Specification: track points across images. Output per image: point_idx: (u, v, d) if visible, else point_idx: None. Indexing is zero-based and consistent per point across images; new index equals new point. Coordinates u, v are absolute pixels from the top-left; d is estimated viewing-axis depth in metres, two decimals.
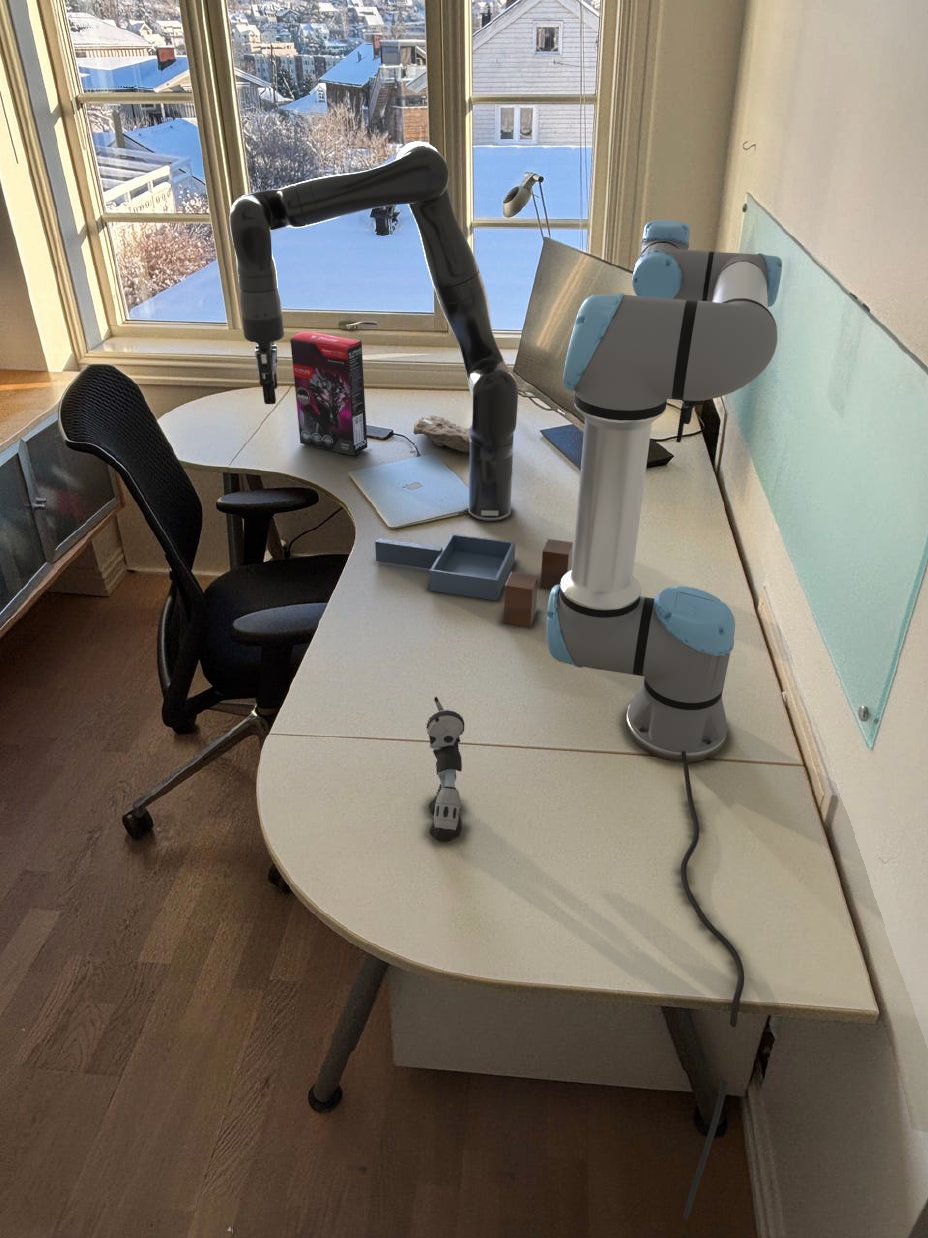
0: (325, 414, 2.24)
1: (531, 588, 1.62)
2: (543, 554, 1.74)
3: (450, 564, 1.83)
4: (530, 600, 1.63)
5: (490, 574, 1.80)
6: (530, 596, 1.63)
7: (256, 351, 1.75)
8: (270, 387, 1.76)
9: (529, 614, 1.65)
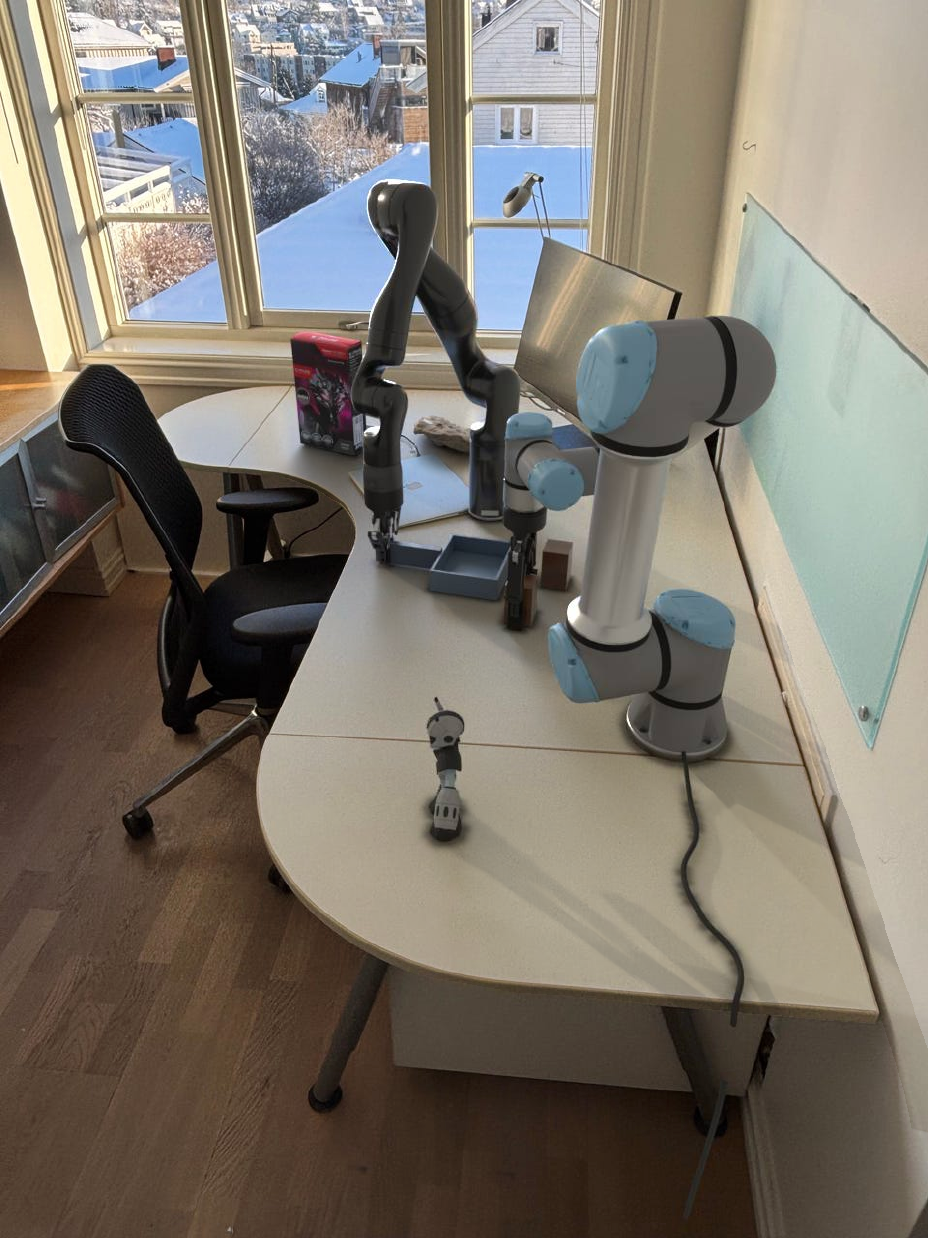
0: (325, 414, 2.24)
1: (531, 588, 1.62)
2: (543, 554, 1.74)
3: (450, 564, 1.83)
4: (530, 600, 1.63)
5: (490, 573, 1.80)
6: (530, 596, 1.63)
7: (373, 518, 1.78)
8: (384, 550, 1.81)
9: (529, 614, 1.65)
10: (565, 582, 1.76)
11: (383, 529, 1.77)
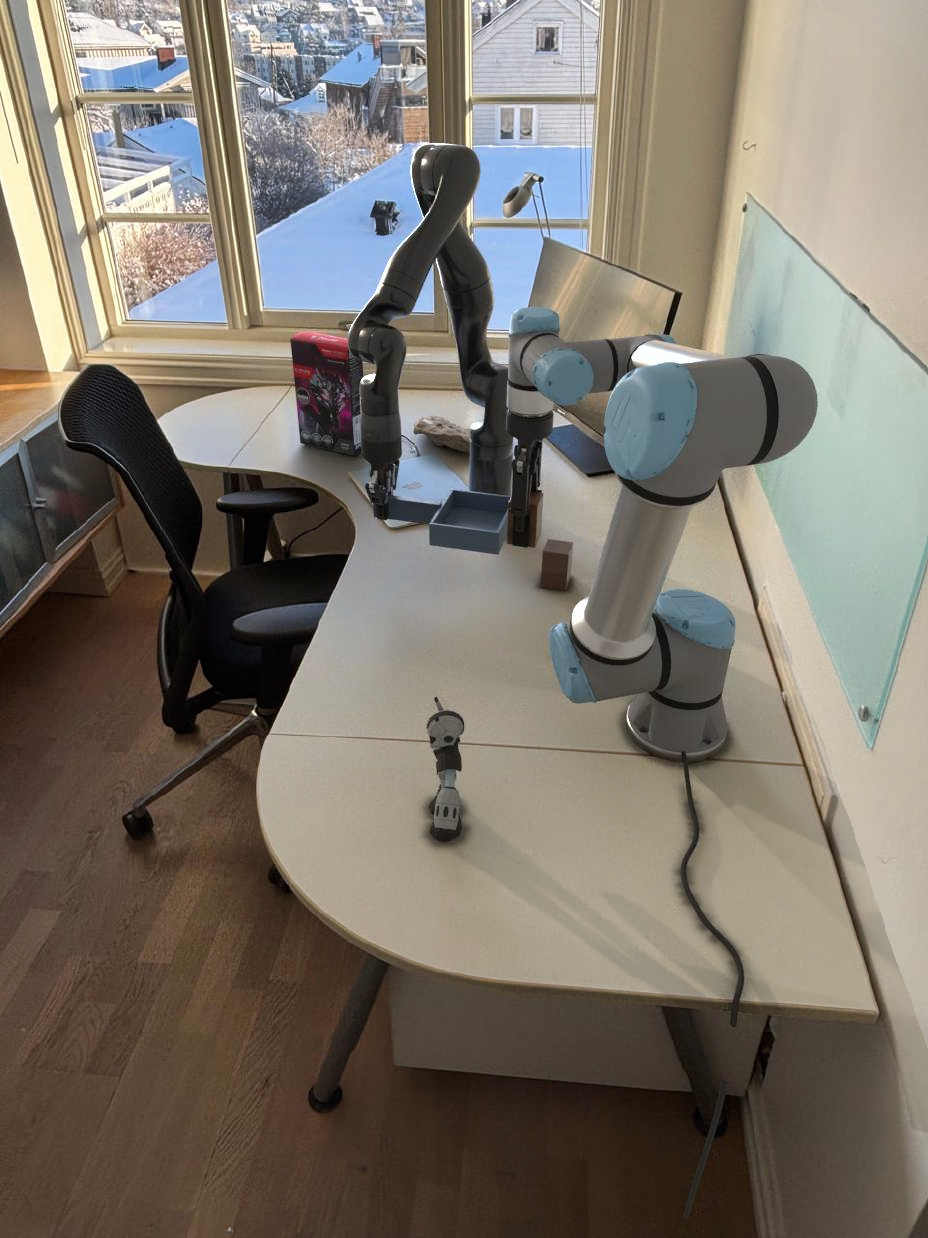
0: (325, 414, 2.24)
1: (536, 504, 1.53)
2: (543, 554, 1.74)
3: (450, 519, 1.77)
4: (535, 518, 1.54)
5: (492, 528, 1.74)
6: (535, 513, 1.54)
7: None
8: (382, 505, 1.75)
9: (534, 533, 1.56)
10: (565, 582, 1.76)
11: (381, 482, 1.72)
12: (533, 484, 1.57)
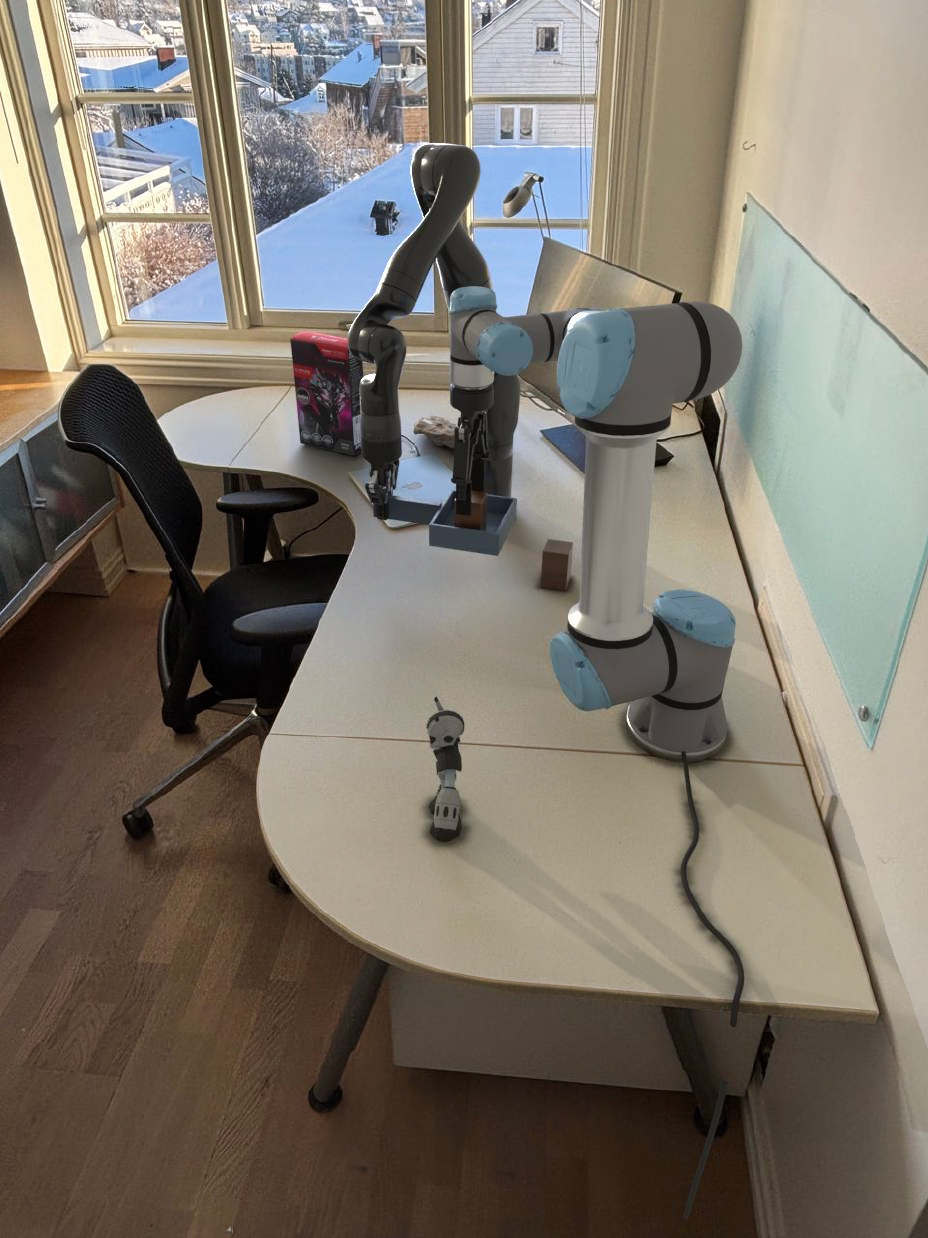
0: (325, 414, 2.24)
1: (480, 503, 1.66)
2: (543, 554, 1.74)
3: (450, 520, 1.77)
4: (479, 515, 1.67)
5: (491, 529, 1.75)
6: (479, 511, 1.67)
7: None
8: (382, 505, 1.75)
9: (478, 529, 1.69)
10: (565, 582, 1.76)
11: (381, 482, 1.72)
12: (480, 449, 1.67)
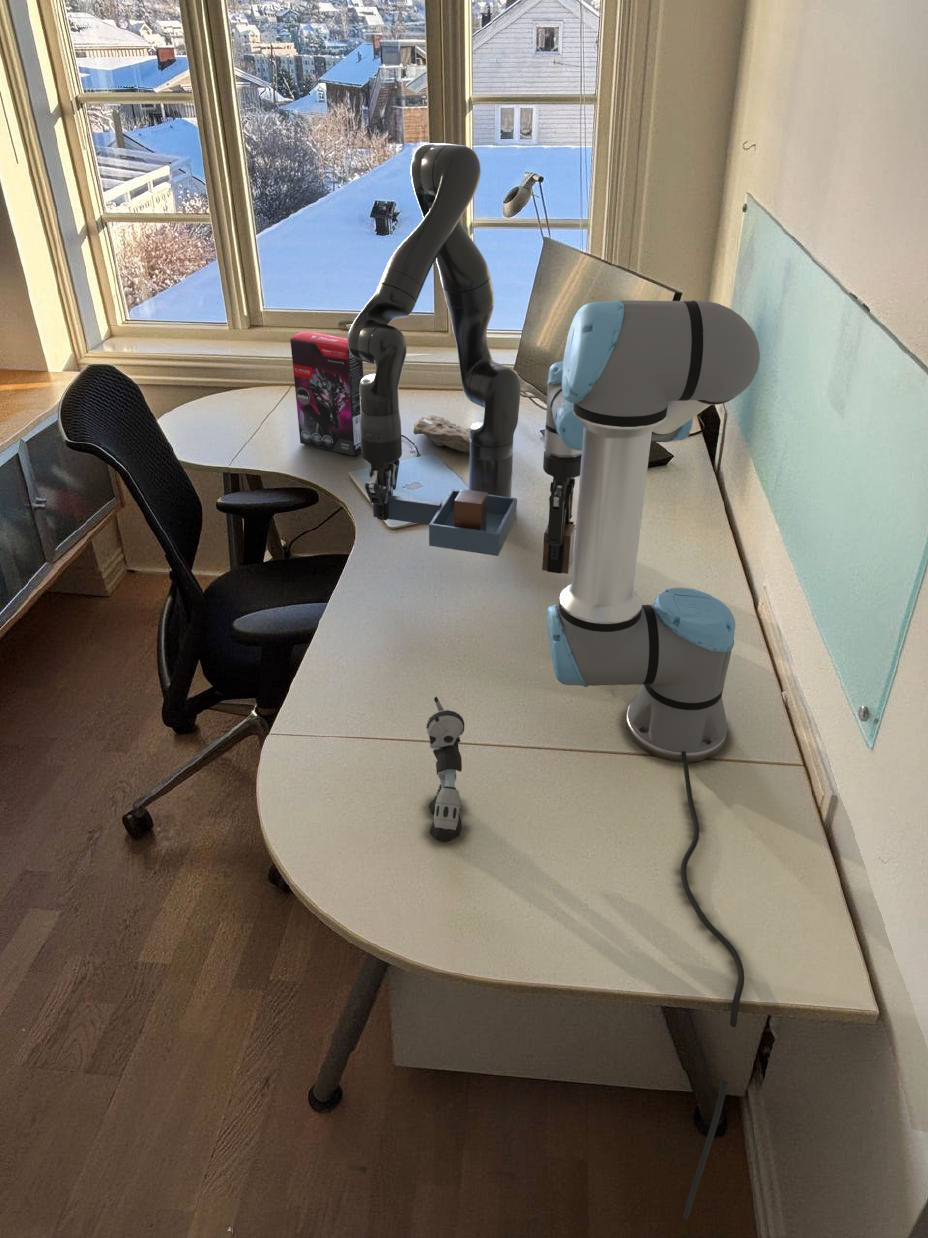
0: (325, 414, 2.24)
1: (480, 503, 1.66)
2: (545, 536, 1.71)
3: (450, 520, 1.77)
4: (479, 515, 1.67)
5: (491, 529, 1.75)
6: (479, 511, 1.67)
7: None
8: (382, 505, 1.75)
9: (478, 529, 1.69)
10: (567, 565, 1.73)
11: (381, 482, 1.72)
12: (566, 516, 1.74)
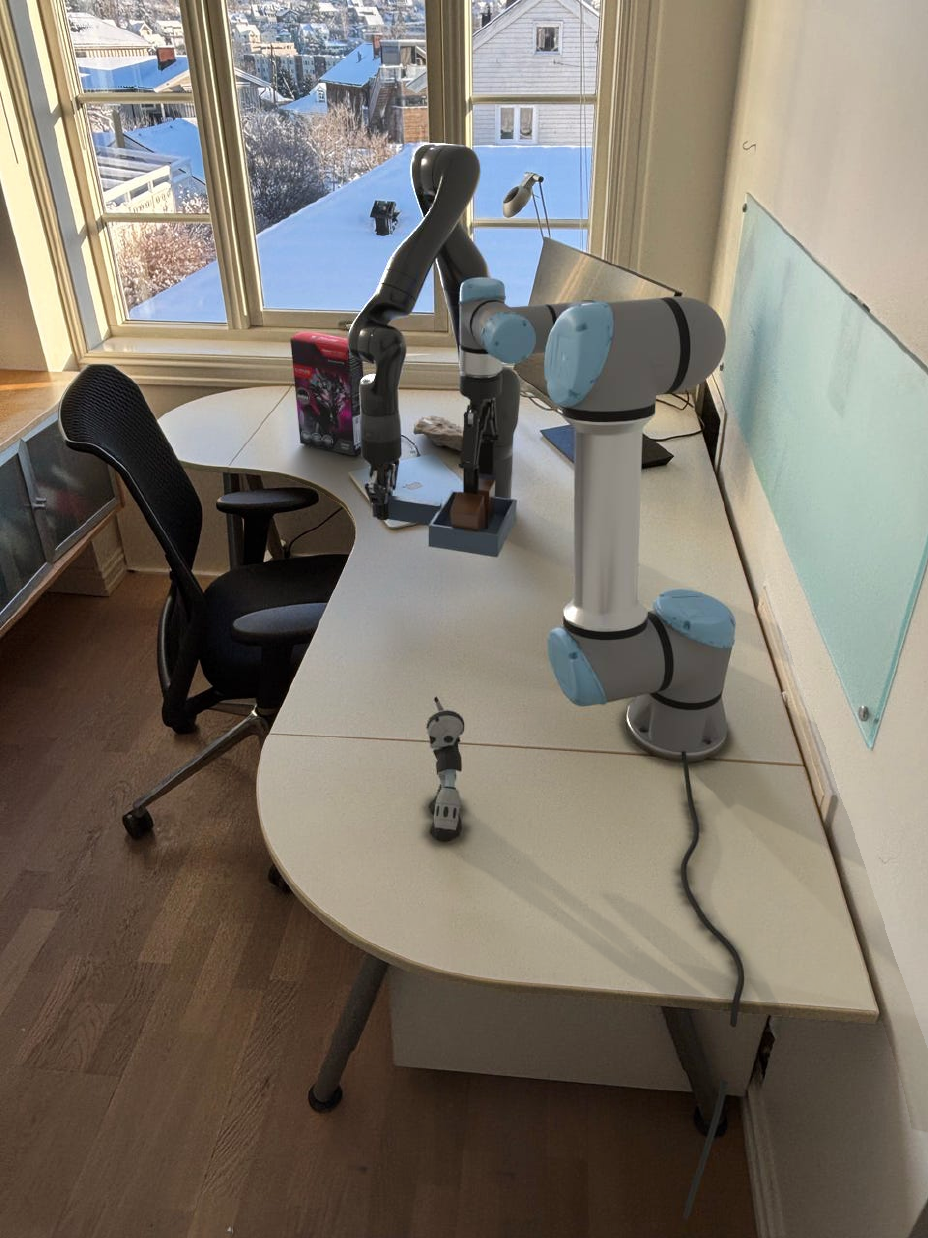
0: (325, 414, 2.24)
1: (475, 513, 1.64)
2: None
3: (449, 521, 1.77)
4: (476, 523, 1.66)
5: (491, 531, 1.75)
6: (475, 520, 1.65)
7: None
8: (382, 505, 1.75)
9: None
10: (487, 520, 1.74)
11: (380, 482, 1.72)
12: (489, 433, 1.73)
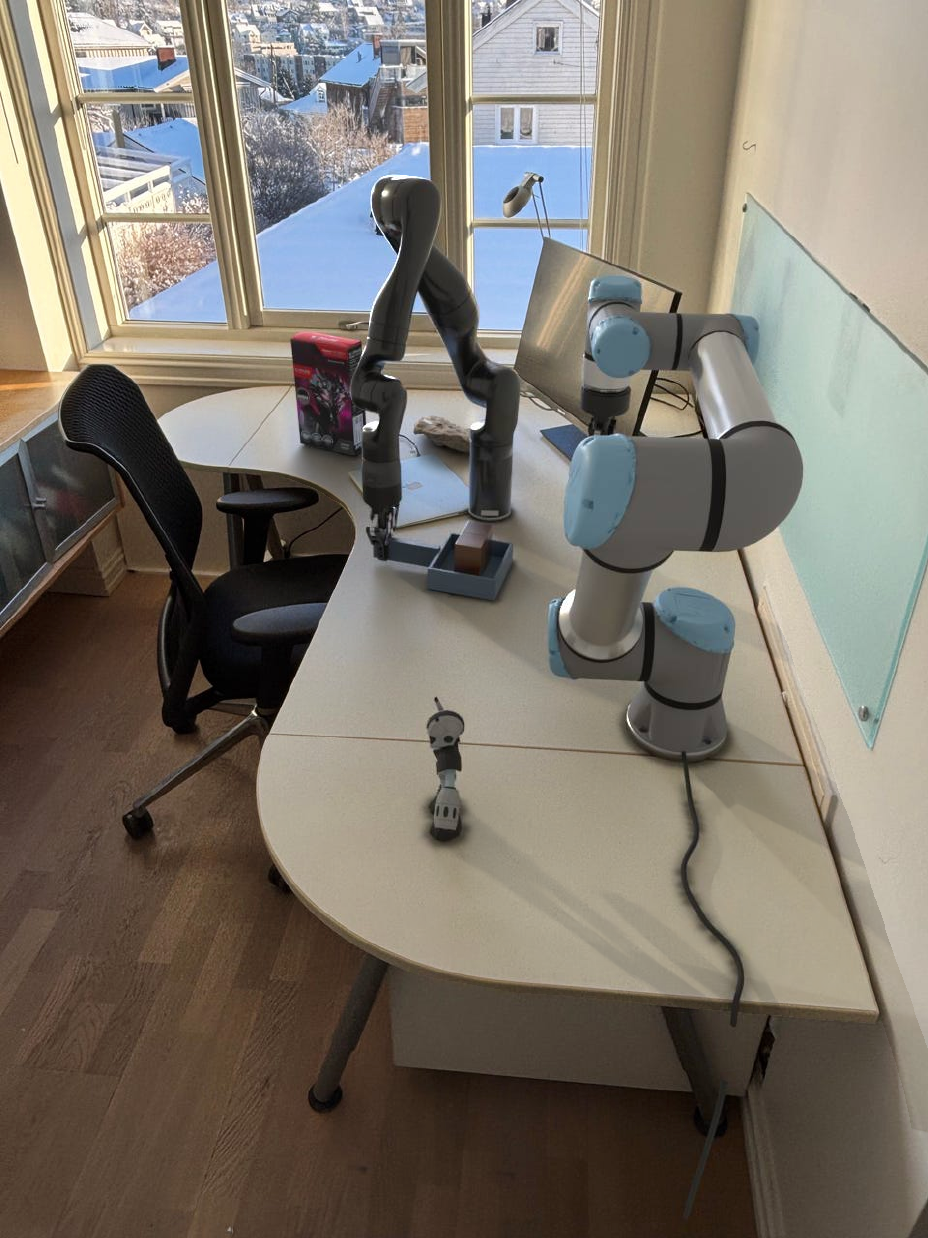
0: (325, 414, 2.24)
1: (479, 547, 1.72)
2: None
3: (448, 562, 1.83)
4: (478, 558, 1.73)
5: (488, 573, 1.80)
6: (478, 554, 1.73)
7: None
8: (382, 547, 1.80)
9: (477, 572, 1.75)
10: None
11: (381, 525, 1.77)
12: None
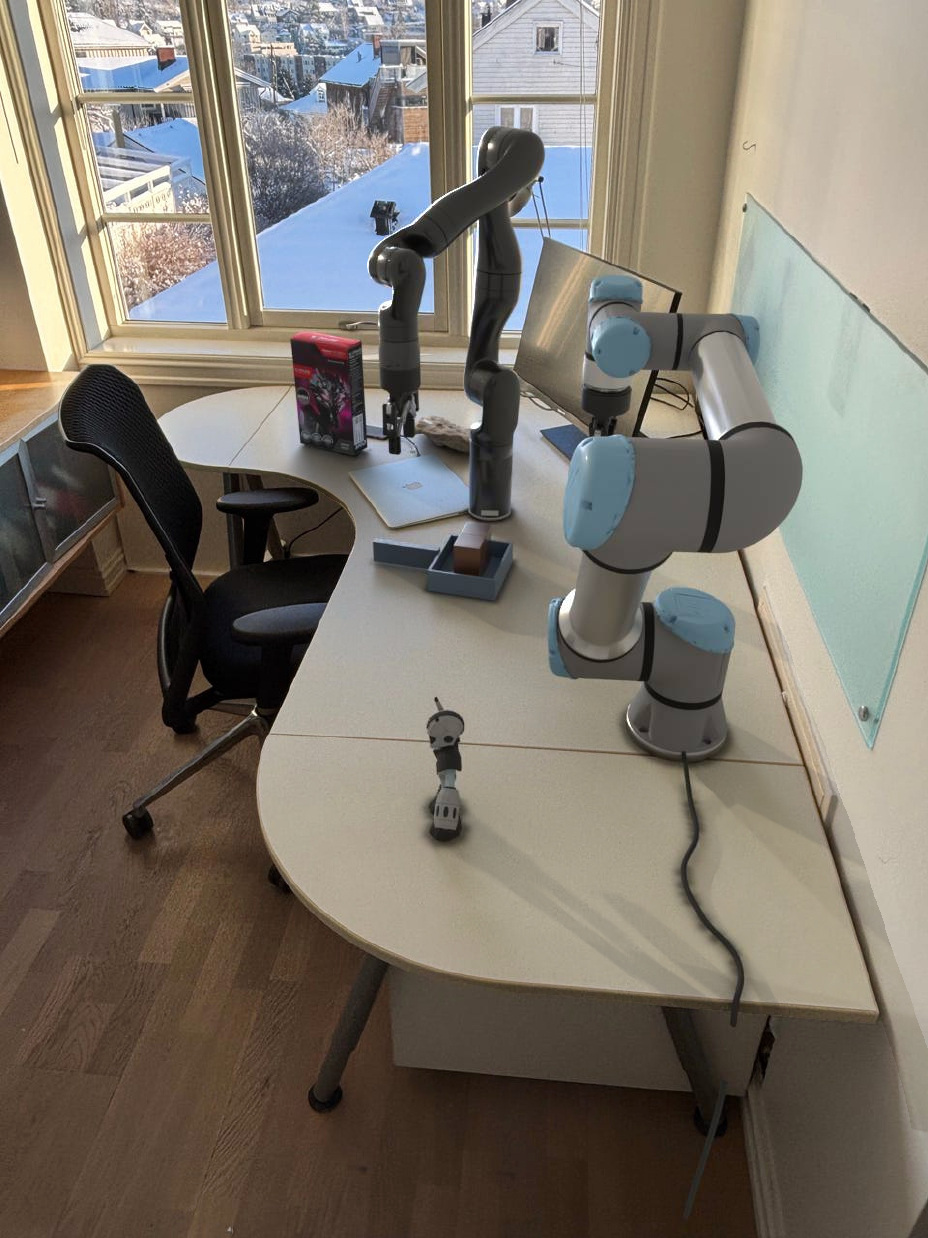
0: (325, 414, 2.24)
1: (478, 547, 1.72)
2: None
3: (448, 564, 1.83)
4: (478, 559, 1.73)
5: (488, 574, 1.80)
6: (477, 555, 1.73)
7: (389, 399, 1.70)
8: (394, 438, 1.70)
9: (477, 572, 1.75)
10: None
11: (399, 412, 1.70)
12: None
